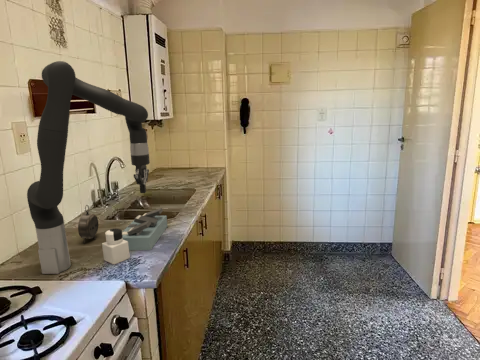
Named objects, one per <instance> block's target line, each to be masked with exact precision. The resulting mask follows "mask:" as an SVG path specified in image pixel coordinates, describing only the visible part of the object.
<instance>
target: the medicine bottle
mask: <svg viewBox="0 0 480 360" xmlns="http://www.w3.org/2000/svg"><path fill="white" fill-rule="evenodd" d="M122 232H123V230H122V229H121V228H110V229H108V230H106V231H105V232H104V234H105V242H102V243H101V245H102V246H101V247H102V254H103V255H102V256H103V260H104V261H106V262H108V263H109V264H112V265H117V264H119V263H121V262H124V261H126V260H129V259H130V258H131V257H130V250H129V246H128V241H125V240H123V236H122Z"/></svg>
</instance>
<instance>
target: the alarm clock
mask: <svg viewBox="0 0 480 360" xmlns="http://www.w3.org/2000/svg"><path fill="white" fill-rule="evenodd" d="M89 207H90V206H89V205H88V204H86V205H85V206H84V211H85V213H82V215H81V216H80V219H79V221H78V225H77V226H78V227H77V231H78V235H79V237H80V238H81V239H83V244H85V243H86V241H87V239H93V238H94V240H97V238H96V235H97V233H98V231H99V220H98V219H99V218H98V217H97V215H96V214H95V213H89V211H90V208H89Z"/></svg>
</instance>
